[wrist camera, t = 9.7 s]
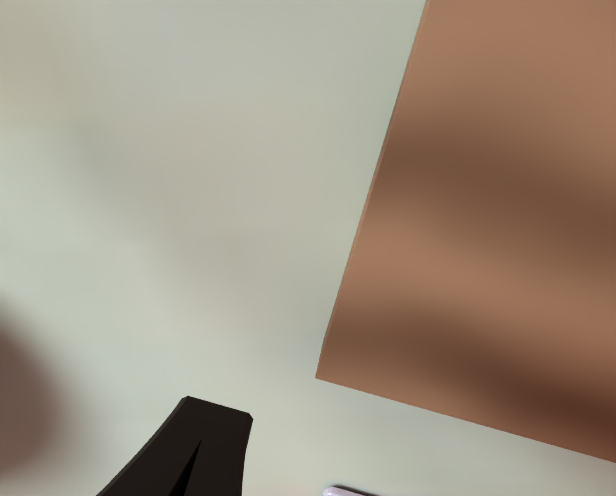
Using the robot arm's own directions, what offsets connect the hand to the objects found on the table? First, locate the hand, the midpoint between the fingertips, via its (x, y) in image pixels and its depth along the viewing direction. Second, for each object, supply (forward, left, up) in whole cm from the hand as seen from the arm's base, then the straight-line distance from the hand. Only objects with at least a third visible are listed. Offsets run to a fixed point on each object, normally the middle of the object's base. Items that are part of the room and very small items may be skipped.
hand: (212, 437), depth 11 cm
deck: (+3, -8, -9) cm, 13 cm away
